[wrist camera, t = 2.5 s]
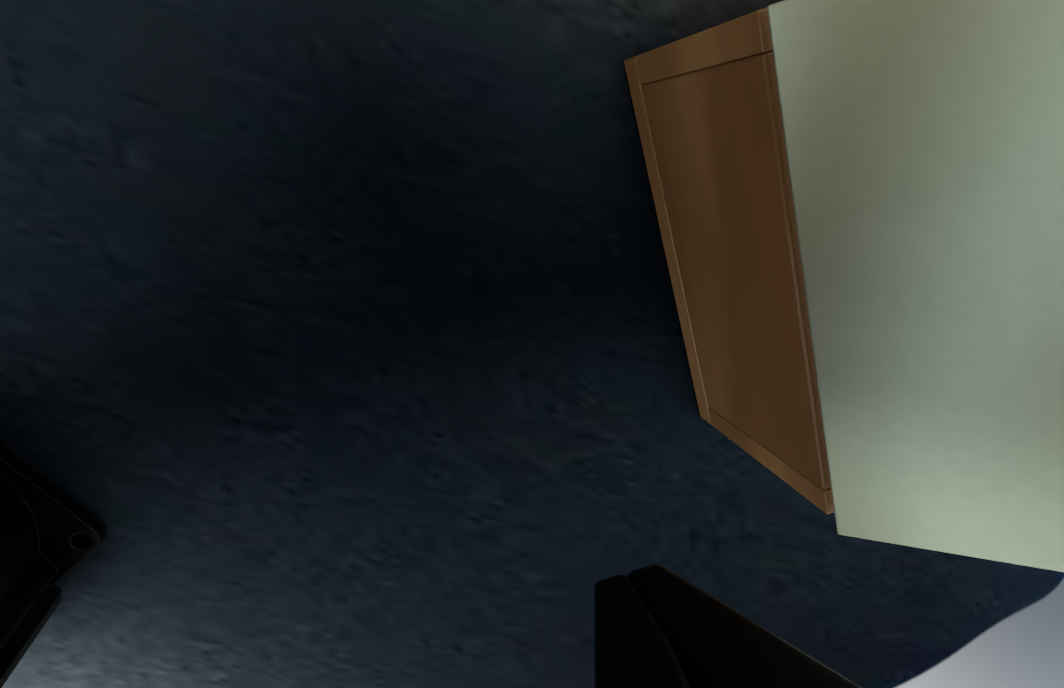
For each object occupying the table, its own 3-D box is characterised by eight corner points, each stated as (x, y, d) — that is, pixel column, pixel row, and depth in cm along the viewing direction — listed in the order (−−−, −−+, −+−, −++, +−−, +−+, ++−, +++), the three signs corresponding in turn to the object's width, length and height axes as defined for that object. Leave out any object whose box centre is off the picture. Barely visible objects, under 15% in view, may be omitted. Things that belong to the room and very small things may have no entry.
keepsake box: (1037, -69, 21) (1332, -167, 14) (1034, 277, 25) (1258, 318, 19) (622, 60, 18) (757, 10, 12) (699, 417, 23) (827, 515, 16)
